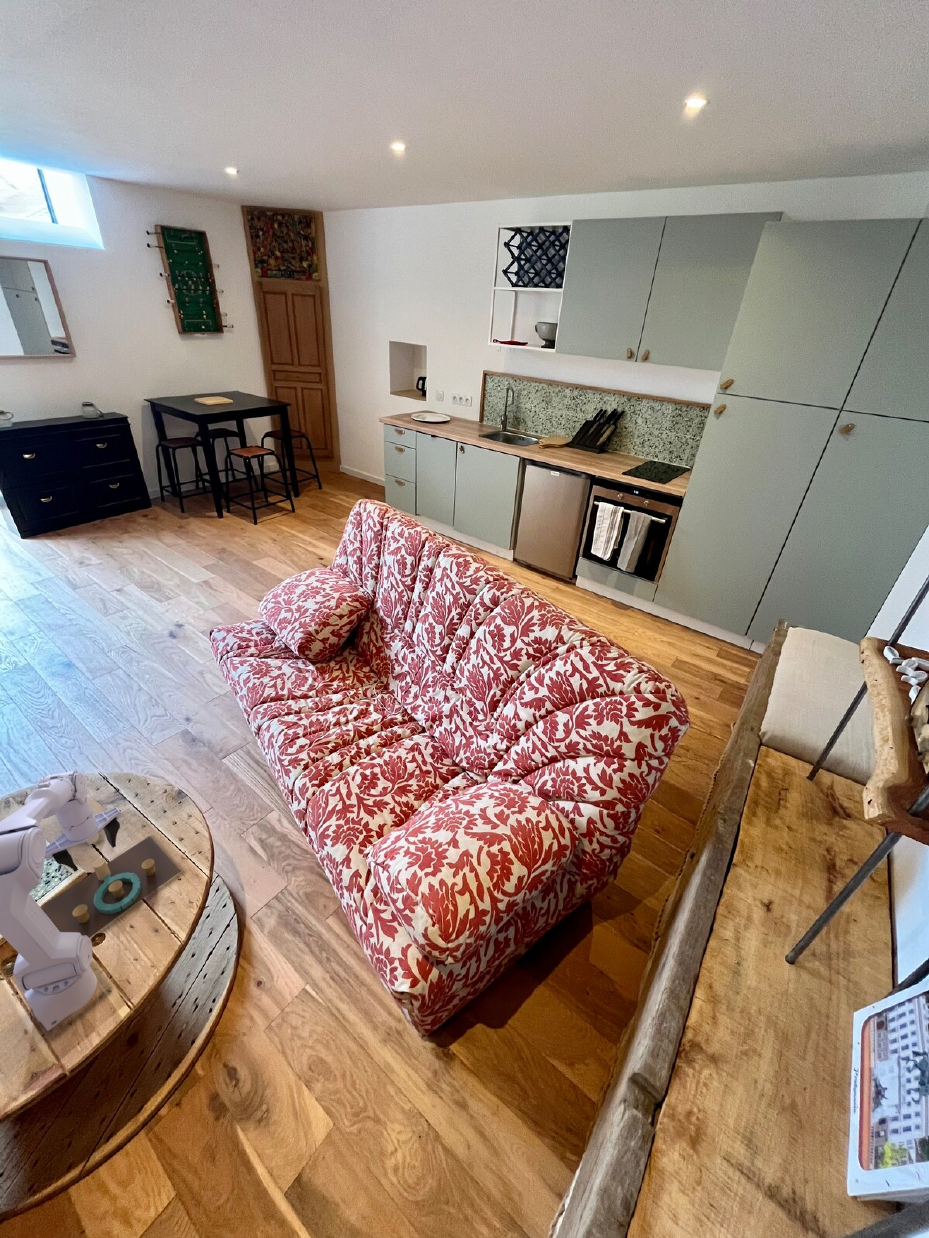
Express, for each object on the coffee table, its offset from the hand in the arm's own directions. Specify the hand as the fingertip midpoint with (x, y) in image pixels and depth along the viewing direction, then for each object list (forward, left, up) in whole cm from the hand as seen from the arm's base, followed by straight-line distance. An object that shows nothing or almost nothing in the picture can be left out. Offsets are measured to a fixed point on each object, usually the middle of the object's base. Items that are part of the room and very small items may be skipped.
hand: (94, 856), depth 114 cm
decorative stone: (+4, +19, -9) cm, 21 cm away
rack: (0, -5, -8) cm, 10 cm away
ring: (0, -5, -7) cm, 9 cm away
